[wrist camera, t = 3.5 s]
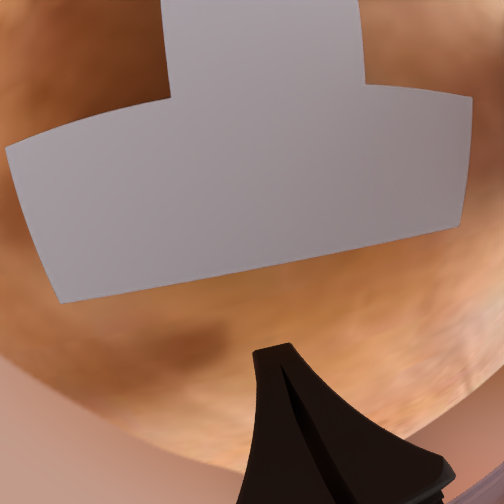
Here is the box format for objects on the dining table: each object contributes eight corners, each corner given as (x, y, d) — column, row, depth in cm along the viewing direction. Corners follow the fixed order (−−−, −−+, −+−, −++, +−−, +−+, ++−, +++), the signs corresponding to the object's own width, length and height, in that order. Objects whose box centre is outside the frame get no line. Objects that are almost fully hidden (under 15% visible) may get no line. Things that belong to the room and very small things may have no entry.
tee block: (383, 180, 11) (459, 226, 7) (97, 227, 9) (60, 304, 6) (363, -72, 6) (433, -109, 2) (59, -55, 4) (10, -105, 1)
